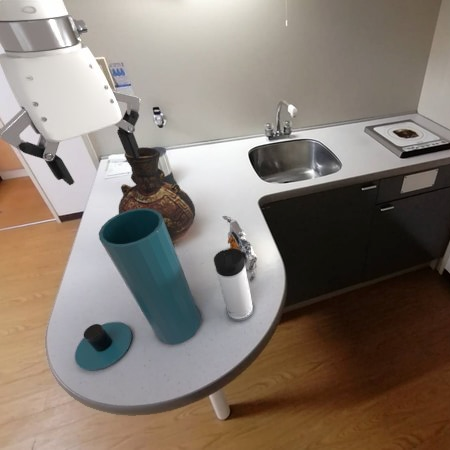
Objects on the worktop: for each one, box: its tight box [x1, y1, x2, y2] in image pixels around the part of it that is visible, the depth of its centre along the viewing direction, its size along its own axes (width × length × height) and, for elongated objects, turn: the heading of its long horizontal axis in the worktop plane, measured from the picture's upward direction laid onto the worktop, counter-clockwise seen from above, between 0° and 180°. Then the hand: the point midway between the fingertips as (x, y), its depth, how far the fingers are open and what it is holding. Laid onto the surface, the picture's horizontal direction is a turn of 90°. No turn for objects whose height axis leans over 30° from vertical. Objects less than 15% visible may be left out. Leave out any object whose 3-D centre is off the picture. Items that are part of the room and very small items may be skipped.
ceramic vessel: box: [118, 146, 196, 244], centre depth 89 cm, size 21×18×30 cm
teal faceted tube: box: [98, 208, 202, 345], centre depth 64 cm, size 10×10×32 cm
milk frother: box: [130, 146, 178, 184], centre depth 114 cm, size 14×16×15 cm
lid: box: [74, 321, 133, 372], centre depth 68 cm, size 11×11×7 cm
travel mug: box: [213, 248, 254, 322], centre depth 71 cm, size 6×7×20 cm
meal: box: [222, 215, 258, 281], centre depth 85 cm, size 15×4×13 cm, turn 35°
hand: (102, 167), depth 46 cm, fingers open, 9 cm apart
